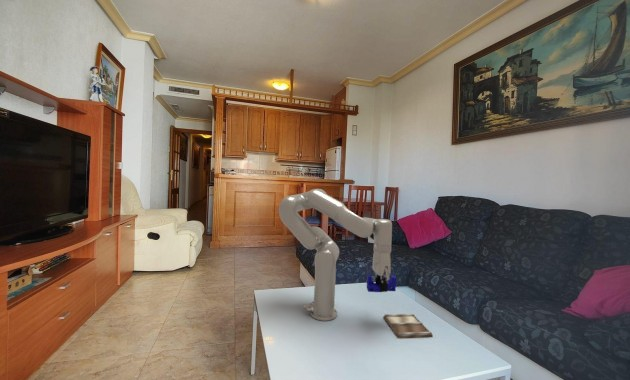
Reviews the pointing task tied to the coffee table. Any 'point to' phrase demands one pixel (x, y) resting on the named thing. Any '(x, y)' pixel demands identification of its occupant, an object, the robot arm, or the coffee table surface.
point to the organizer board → (406, 326)
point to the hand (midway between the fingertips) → (381, 288)
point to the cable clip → (376, 288)
